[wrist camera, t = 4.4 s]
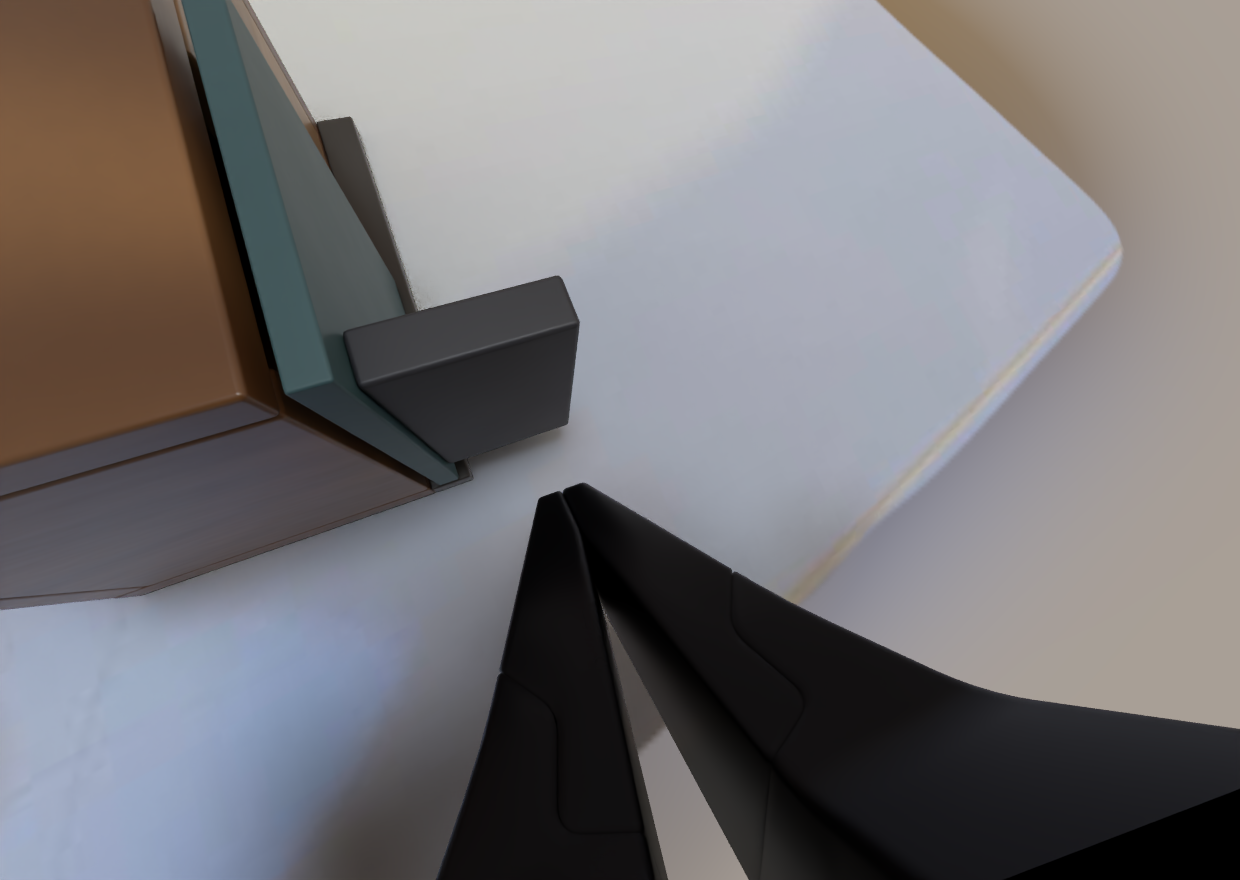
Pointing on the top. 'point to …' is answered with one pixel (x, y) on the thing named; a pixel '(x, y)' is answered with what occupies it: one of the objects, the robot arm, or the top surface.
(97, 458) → the cupboard
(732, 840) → the robot arm
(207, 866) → the top surface
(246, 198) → the sliding door
